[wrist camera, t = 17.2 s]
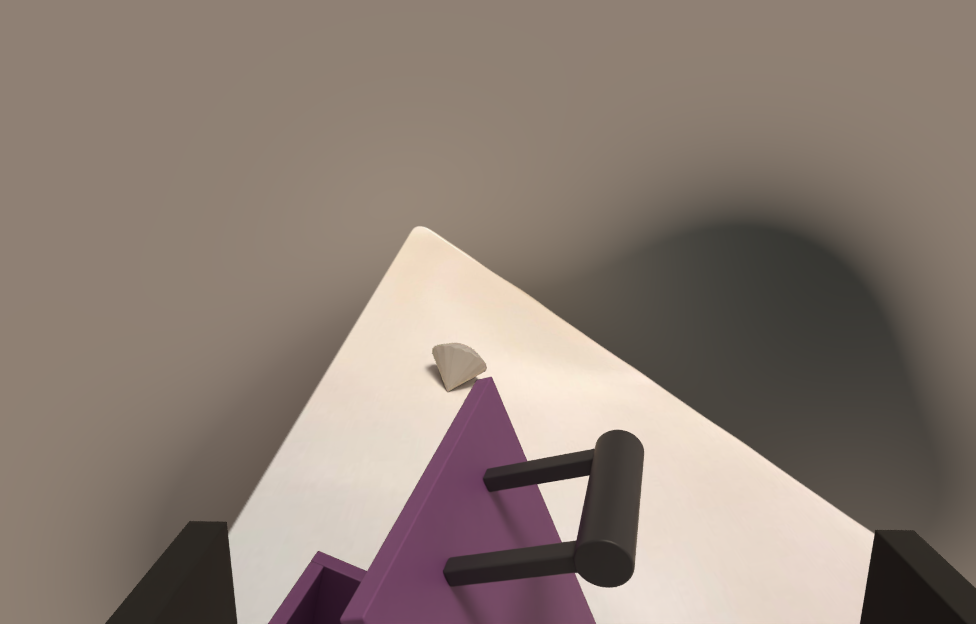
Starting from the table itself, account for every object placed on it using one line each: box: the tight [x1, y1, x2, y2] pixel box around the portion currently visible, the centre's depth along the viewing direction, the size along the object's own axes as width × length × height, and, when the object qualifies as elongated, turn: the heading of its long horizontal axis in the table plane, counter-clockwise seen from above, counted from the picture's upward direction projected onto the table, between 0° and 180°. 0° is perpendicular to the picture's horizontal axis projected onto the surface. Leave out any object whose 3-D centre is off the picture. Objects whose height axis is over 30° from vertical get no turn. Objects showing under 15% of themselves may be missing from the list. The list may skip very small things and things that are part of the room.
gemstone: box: [432, 343, 487, 392], centre depth 70 cm, size 6×6×5 cm
